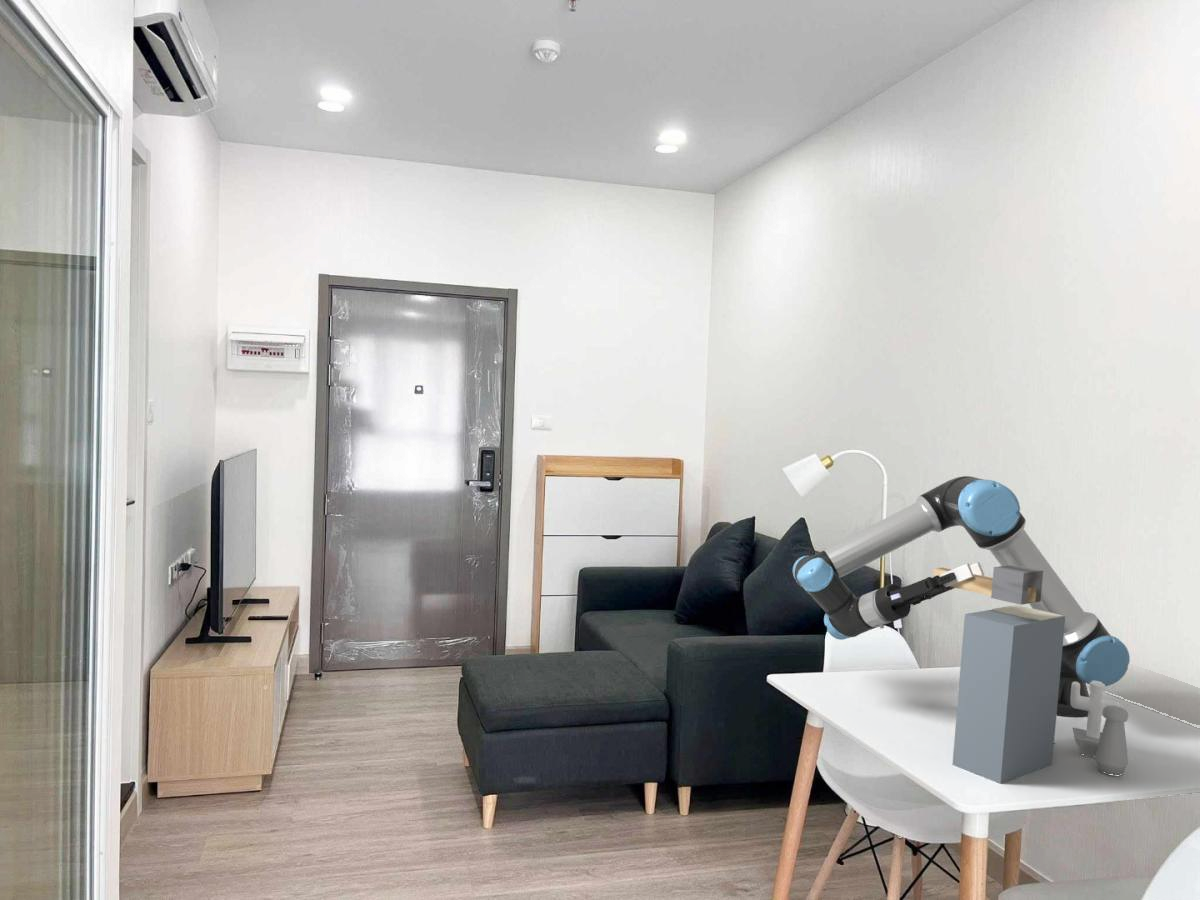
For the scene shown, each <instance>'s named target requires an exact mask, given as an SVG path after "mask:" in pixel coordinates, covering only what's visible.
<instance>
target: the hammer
mask: <svg viewBox="0 0 1200 900" xmlns="http://www.w3.org/2000/svg"><path fill="white" fill-rule="evenodd" d="M952 569H953V568H946V567H937V568H936V567H935V568H933V577H934V576H936V575H937V576H940V577H941V575H940V574H943V573H945V572H948V571H950V570H952ZM992 572H993V573H992V576H991V577H990V576H985V575H984V576H981V575H976V574H973V575H974V577H971V578H969V579H966V580H964V581H961V582H959V583H956V584H953V585H951V586H949V587H954V589H959V590H963V591H967V592H973V593H977V594H980V595H981V594H982V595H985V596H989V597H990V596H991V597H990V598H991V599H992V600H993V599H994V600H999V601H1002V602H1003V601H1004V602H1007V603H1010V604H1011V603H1012V604H1014V605H1019V606H1023V605H1028V604H1029V603H1035V602H1041V591H1042V579H1043V570H1038V569H1032V568H1027V567H1022V566H1017V565H1008V566H1001V565H1000V566H994V567H993V570H992ZM943 585H944V584H943ZM1029 605H1030V604H1029Z"/></svg>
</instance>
